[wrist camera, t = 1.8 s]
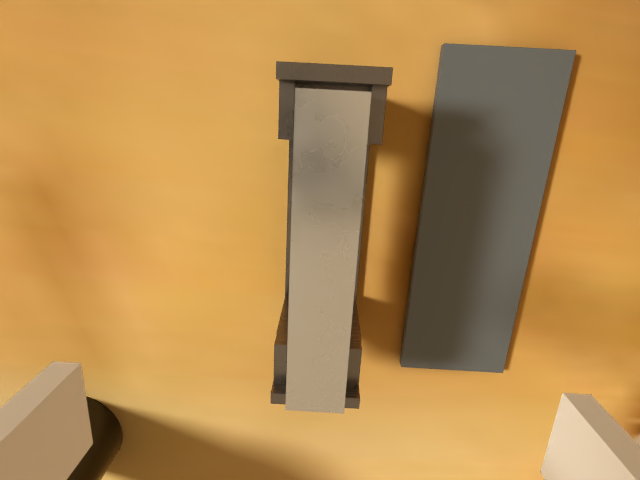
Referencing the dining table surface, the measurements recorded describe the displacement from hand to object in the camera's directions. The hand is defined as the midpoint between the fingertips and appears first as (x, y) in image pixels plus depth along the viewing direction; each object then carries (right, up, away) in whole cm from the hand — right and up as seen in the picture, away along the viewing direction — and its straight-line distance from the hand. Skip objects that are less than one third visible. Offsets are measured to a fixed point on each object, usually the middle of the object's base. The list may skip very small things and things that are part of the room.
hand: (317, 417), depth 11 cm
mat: (+12, +6, +21) cm, 25 cm away
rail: (0, +5, +14) cm, 15 cm away
